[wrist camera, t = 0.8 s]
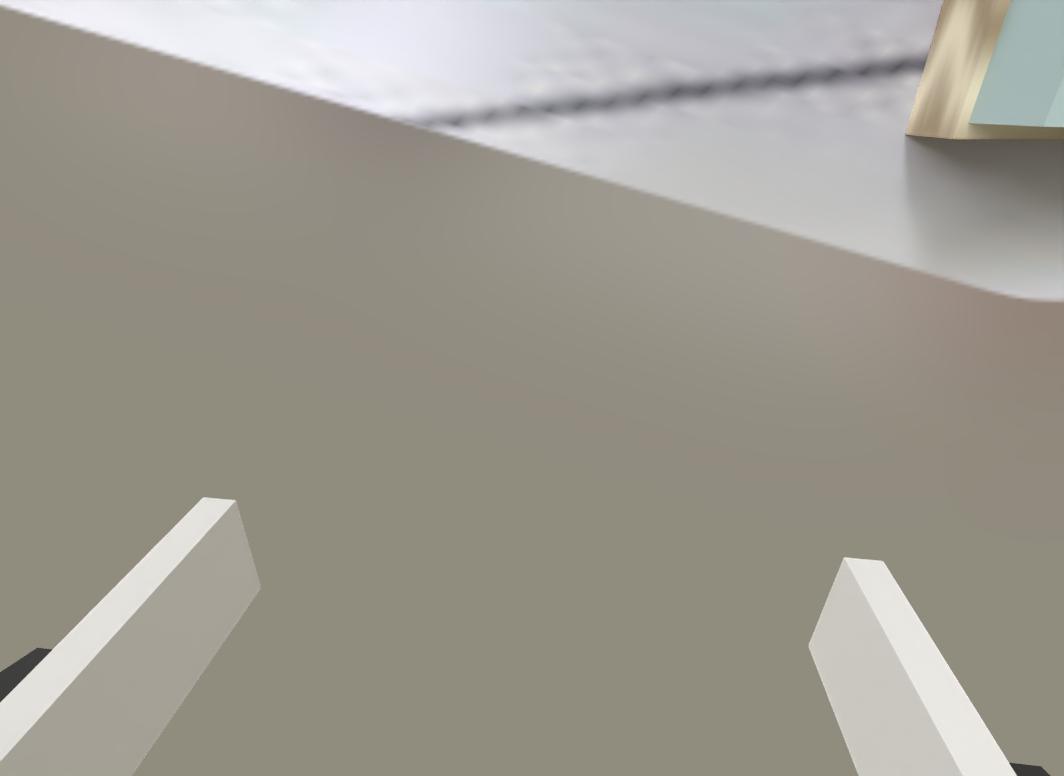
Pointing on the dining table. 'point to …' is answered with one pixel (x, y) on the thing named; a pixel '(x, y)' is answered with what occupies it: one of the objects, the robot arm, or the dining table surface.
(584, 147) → the dining table surface
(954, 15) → the tower base slab
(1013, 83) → the tower top slab
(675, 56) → the dining table surface
